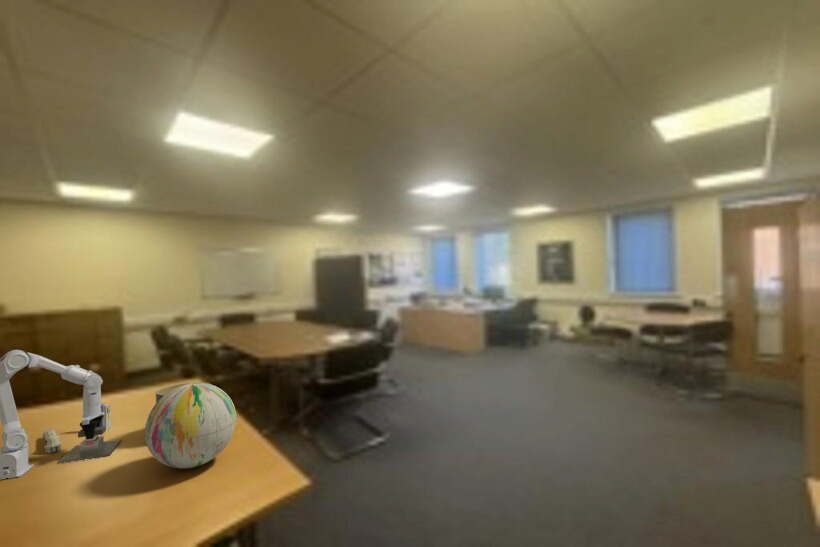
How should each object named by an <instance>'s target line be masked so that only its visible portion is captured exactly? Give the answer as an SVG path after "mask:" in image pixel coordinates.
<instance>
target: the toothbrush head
mask: <svg viewBox="0 0 820 547" xmlns="http://www.w3.org/2000/svg"><path fill="white" fill-rule="evenodd" d="M42 439H43V440H46V444H45V445H44V449H45V454H52V453H55V452H59V451H60V450H61V449H62V444H63V442H62V441H60V437H59V436H58V435H57V431H56V430H55V429H52V428H51V429H46V430H45V431H44V432H43V433H42Z"/></svg>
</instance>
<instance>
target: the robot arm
mask: <svg viewBox="0 0 820 547" xmlns="http://www.w3.org/2000/svg"><path fill="white" fill-rule="evenodd" d="M26 366H27V367H28V368H35V367H39V368H42V369H45V370H49V371H51V372H54V373H57V374H60V376H61V378H62V380H66V381H68V382H71V383H74V384H76V385H82V386H83V393H82V416H81V417H82V419H81V422H80V423H79V426H80V427H81V430H82V429H83V431H84V433H85V437H84V438H85V439H93V437H94V433H95V428H96V427H99V426H100V423H101V421H102V419H103V417H104V412H101V405H102V390H101V388H102V387H101V385H103V382H104V380H103V379H102V376H100V375H99V374H98V373H96V372H93V371H92V370H91V369H88V370H87V369H85V368H81V366H80V365H79V364H75V365H73V364H70V365H64V364H61V363H59V362H56V361H54V360H51V359H49V358H47V357H44V356H42V355H40V354H35V353H31V352H28V351H27V352H26V351H24V350H20V349H13V350H10V351H8V352H6V353H5V354H4V355H3V356H2V357H1V358H0V421H1V426H2V429H3V430H2V431H3V432H2V435H1V441H2V445H3V446H2V447H1V448H0V480H7V479H6V478H8V479H12V478H19V477H22V476H23V475H24V474H25V473H27V471H29V470H30V469H32V468H33V467H34V466H35V465H34V464H29V443H28V441H29V437H28V434H27V433H26V432H27V431H26V429H25V428H24V427H23V426H22V425H21V422H20V418H19V413H18V410H17V405H16V402H15V399H14V395H13V391H12V387H11V383H10V379H11V378H12V377H13V376H14V375H15V374H16V373H17V372H18V371H21V370H22V369H24V368H25V367H26Z"/></svg>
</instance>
